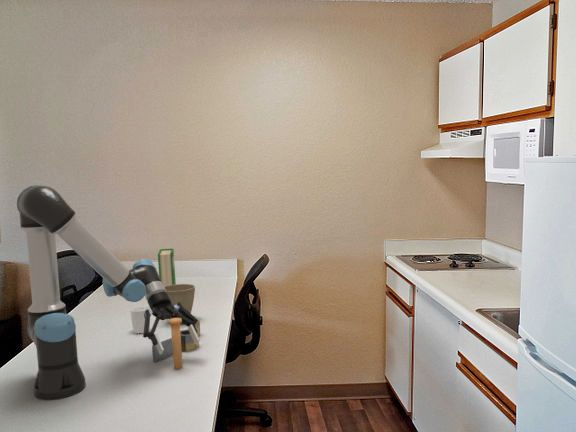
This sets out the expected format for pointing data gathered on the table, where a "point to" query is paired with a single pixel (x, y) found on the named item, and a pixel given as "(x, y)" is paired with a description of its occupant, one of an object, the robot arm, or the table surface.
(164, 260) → the hardback book
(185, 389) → the table surface
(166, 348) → the hinge leaf
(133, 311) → the white cup
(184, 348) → the hinge leaf
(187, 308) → the plant pot
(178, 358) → the hinge pin
